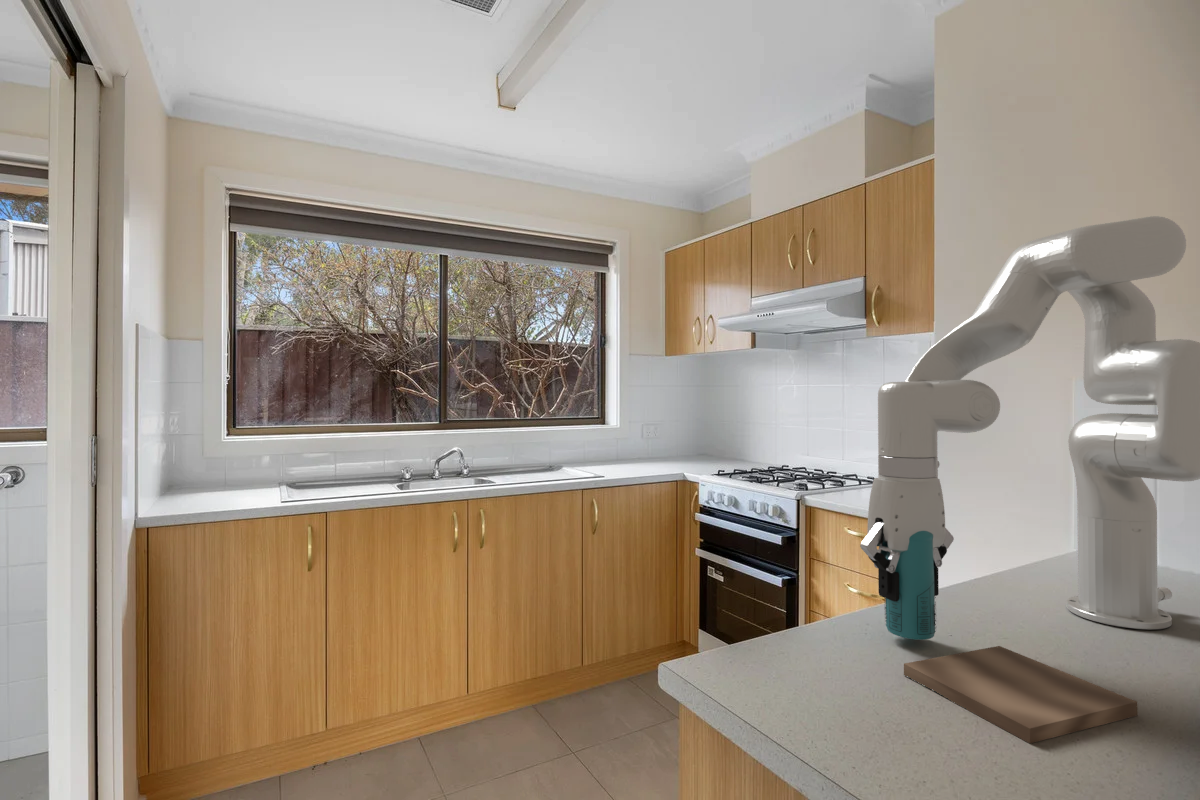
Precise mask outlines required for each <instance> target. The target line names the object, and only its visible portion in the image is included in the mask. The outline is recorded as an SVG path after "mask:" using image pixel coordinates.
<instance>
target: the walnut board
mask: <svg viewBox="0 0 1200 800" xmlns="http://www.w3.org/2000/svg"><path fill="white" fill-rule="evenodd" d="M904 675H905V676H904ZM903 676H904V677H906V676H908V677H910V678H911V679H913V680H915V681H917V682H919V683H921V684H923V685H925V686H926V687H928V688H930V689H933V690H934V691H936V692H937V693H939V694H941V695H943V696H944V697H943V696H942V697H943V698H945V697H946V698H948V699H949V700H948V699H947V700H948V701H950V700H951V702H952V701H953V702H952V703H954V702H955V703H954V704H956V703H957V704H956V705H957V706H959V705H960V707H961V706H962V707H961V708H963V707H964V709H965V708H966V709H965V710H967V711H969V712H971V713H972V712H973V714H974V715H976V716H978V717H980V718H982V719H984V720H986V721H987V722H989V723H991V724H993V725H994V726H996V727H998V728H999V729H1000V728H1001V729H1002V730H1004V731H1006V732H1008V733H1009V734H1011V735H1014V736H1015V737H1017V738H1018V739H1020V740H1022V741H1025V742H1026V743H1028V744H1033V743H1038V742H1041V741H1042V742H1043V741H1044V740H1049V739H1053V738H1056V737H1061V736H1064V735H1068V734H1072V733H1075V732H1079V731H1084V730H1087V729H1090V728H1096V727H1099V726H1102V725H1103V726H1104V725H1106V724H1110V723H1115V722H1119V721H1122V720H1126V719H1129V718H1133V717H1138V713H1139V712H1138V709H1139V708H1138V701H1136V700H1134V699H1132V698H1129V697H1128V696H1124V695H1122V694H1120V693H1117V692H1114V691H1112V690H1109V689H1107V688H1105V687H1101V686H1099V685H1098V684H1094V683H1093V682H1090V681H1087V680H1085V679H1082V678H1080V677H1077V676H1075V675H1072V674H1070V673H1067V672H1065V671H1063V670H1060V669H1058V668H1056V667H1052V666H1050V665H1047V664H1045V663H1044V662H1041V661H1037V660H1036V659H1033V658H1031V657H1028V656H1026V655H1023V654H1021V653H1018V652H1015V651H1013V650H1011V649H1008V648H1006V647H1003V646H1001V645H997V646H991V647H987V648H981V649H979V648H978V649H974V650H970V651H964V652H959V653H954V654H948V655H943V656H936V657H933V658H928V659H927V658H926V659H920V660H917V661H911V662H905V663H903ZM911 679H910V680H911ZM913 680H912V681H913ZM915 681H914V682H915ZM917 682H916V683H917ZM919 683H918V684H919ZM926 687H925V688H926ZM928 688H927V689H928ZM930 689H929V690H930ZM937 693H936V694H937ZM939 694H938V695H939ZM941 695H940V696H941ZM946 698H945V699H946Z"/></svg>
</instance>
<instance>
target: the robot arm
mask: <svg viewBox="0 0 1200 800" xmlns="http://www.w3.org/2000/svg"><path fill="white" fill-rule="evenodd" d="M1186 249H1187V239H1186V235H1185V233H1184V231H1183V229H1182V228H1181V226H1180V225H1178V223H1177V222H1175V221H1174V220H1173V219H1170V218H1167V217H1165V216H1159V215H1153V216H1152V215H1151V216H1146V217H1140V218H1134V219H1133V218H1132V219H1128V220H1127V219H1126V220H1120V221H1114V222H1107V223H1105V222H1104V223H1098V224H1092V225H1086V226H1081V227H1076V228H1074V229H1069V230H1065V231H1062V232H1059V233H1055V234H1051V235H1047V236H1043V237H1040V238H1036V239H1033V240H1030V241H1028V242H1025V243H1023V244H1021V245H1019V246H1018V247H1017V248H1016V249H1015V250H1013V251H1012V252H1011V254H1010V255H1009V256H1008V258H1007V259H1006V261H1005V262H1004V264H1003V265H1002V267H1001V269H1000V270H999V272H998V273H997V275H996V276H995V278H994V279H993V281H992V283H991V284H990V286H989V288H988V289H987V291H986V292H985V294H984V296H983V297H982V299H981V300H980V301H979V302H978V304H977V306H976V307H975V310H974V311H973V313H971V314H970V316H969V317H968V318H967V319H965V320H964V321H962V322H961V323H960V324H959V325H957V326H956V327H954V328H952V330H951V331H949V332H948V333H947V334H946V335H945V336H943V337H942V338H941V339H940V340H938V341H937V342H936V343H935V344H934V345H932V346H931V347H930V348H929V349H928V350H927V351H926V352H925V353H923V355H922V356H921V357H920V358H919V359H918V360H917V362H916V363H915V365H914V366H913V368H912V369H911V371H910V372H909V374H908V376H907V377H906V379H905V380H904V381H892V382H891V381H890V382H886V383H883V384H882V385H881V386H880V387H879V389H878V392H877V442H878V443H877V445H878V446H877V447H878V453H877V454H878V455H877V456H878V457H877V458H878V462H877V464H878V468H877V469H878V472H877V473H878V477H874V478H873V481H872V484H871V485H872V486H871V491H870V493H869V501H868V511H867V513H868V514H867V535H865V537H864V538H863V540H862V541H861V543H860V544H859V545H860V546H859V547H860V549H861V550H862V551H863V552H864V553H865V554H866V555H867V556H868V559H869V560H870V561H871V562H872V563H873V566H874V568H876V569H878V571H877V573H878V574H877V575H878V595H879V597H881V598H886V599H889V600H891V601H894V602H895V601H898V600H899V573H898V572H895V569H896V566H897V563H898V560H899V557H900V553H901V552H904V551H907V550H908V545H909V538H910V537H911V536H912V535H913V534H915V533H916V532H919V531H928V532H930V533H932V534H933V565H934V570H935V571H934V580H935V581H934V585H935V584H936V585H935V586H936V587H934V589H935V590H936V591H935V590H934V591H935V592H934V596H935V595H936V596H935V597H937V596H939V592H940V591H939V568H941V567H942V565H943V558H944V557H945V555H946V554H947V551H948V549H950V546H951V545H952V543H953V542H954V540H955V539H954V538H955V537H954V536H953V534H951V532H950V531H949V530H948V529H947V528H946V516H945V515H946V512H945V502H944V494H943V490H942V485H941V481H940V478H938V475H939V473H938V472H939V470H938V468H940V465H941V463H940V462H939V459H938V432H946V433H957V434H959V433H960V434H970V433H972V434H973V433H977V432H980V431H983V430H986V429H987V428H989V427H991V425H992V424H994V423H995V422H996V420H998V417H999V415H1000V412H1001V402H1000V401H1001V400H1000V398H999V396H998V395H997V393H996V391H995V390H994V389H993V388H992V387H990V386H989V385H987V384H986V383H985V382H981V381H978V380H973V379H963V378H964V377H966V376H967V375H969V374H970V373H972V372H973V371H975V370H977V369H978V368H980V367H982V366H984V365H987V364H989V363H991V362H993V361H996V360H998V359H1001V358H1003V357H1006V356H1007V355H1008V356H1009V355H1010V354H1012V353H1014V352H1016V351H1018V350H1020V349H1022V348H1023V347H1025V346H1026V345H1029V343H1030V342H1031V341H1032V340H1033V339H1034V336H1035V335H1036V334H1037V332H1038V330H1039V329H1040V327H1041V325H1042V323H1043V321H1044V320H1045V319H1046V317H1047V315H1048V313H1049V312H1050V310H1051V308H1053V305H1054V304H1055V302H1056V301H1057V300H1058V298H1059V296H1061V294H1063V293H1065V292H1067V293H1069V294H1070V296H1071V297H1072V298H1073V299H1074V301H1076V302H1077V304H1078V307H1080V310H1081V312H1082V314H1083V318H1084V319H1083V320H1084V348H1083V349H1084V351H1083V353H1084V354H1083V376H1082V377H1083V387H1084V391H1085V392H1086V395H1087V396H1088V397H1089V398H1090V399H1091V400H1093V401H1095V402H1097V403H1100V404H1106V405H1116V406H1117V405H1119V406H1120V405H1121V406H1122V405H1123V406H1129V405H1130V406H1141V405H1142V406H1157V414H1153V413H1152V414H1148V413H1147V414H1144V413H1117V412H1116V413H1115V412H1114V413H1113V412H1112V413H1108V412H1107V413H1097V414H1093V415H1092V414H1091V415H1089V416H1086V417H1084V418H1082V419H1080V420H1079V421H1077V422H1076V423H1075V424H1074V425H1073V426H1072V427H1071V430H1070V432H1069V435H1068V441H1067V442H1068V443H1067V444H1068V451H1069V455H1070V459H1071V464H1072V466H1073V471H1074V475H1075V476H1074V477H1075V482H1076V483H1075V484H1076V485H1075V486H1076V500H1077V501H1076V503H1077V505H1076V506H1077V512H1076V513H1077V517H1076V518H1077V519H1076V520H1077V583H1078V585H1077V587H1078V588H1077V589H1078V590H1077V593H1078V595H1074V596H1071V597H1069V598H1067V599H1066V601H1065V602H1066V604H1065V606H1066V609H1067V610H1068V611H1070V612H1071V613H1072V614H1074V615H1076V616H1078V617H1081V618H1082V619H1083V618H1084V619H1085V620H1086V619H1087V620H1090V621H1093V622H1097V623H1101V624H1105V625H1110V626H1115V627H1119V628H1127V629H1135V630H1149V631H1151V630H1164V629H1167V628H1169V627H1171V626H1172V625H1173V618H1172V616H1171V615H1170V613H1168V612H1166V611H1165V610H1163V609H1160V608H1159V603H1160V602H1161V601H1166V600H1170V599H1172V597H1173V592H1172V591H1171V590H1170V589H1169V588H1168V587H1166V586H1161V587H1158V524H1157V522H1158V521H1157V519H1158V510H1157V505H1156V500H1155V498H1154V496H1153V494H1152V492H1151V491H1150V488H1149V487H1148V485H1147V484H1146V483H1145V481H1144V480H1143V479H1152V480H1162V481H1172V482H1194V481H1199V480H1200V342H1198V341H1196V340H1192V339H1182V338H1180V339H1178V338H1177V339H1176V338H1175V339H1164V340H1157V331H1156V327H1157V326H1156V325H1157V323H1156V321H1157V320H1156V318H1157V317H1156V316H1157V315H1156V309H1155V307H1154V305H1153V302H1152V301H1151V300H1150V298H1149V297H1148V295H1146V293H1145V292H1143V291H1142V290H1141V289H1140V288H1139V287H1138V286H1137V285H1135V283H1133V282H1132V281H1137V280H1142V279H1150V278H1155V277H1161V276H1162V275H1165V274H1167V273H1169V272H1171V271H1172V270H1173V269H1175V268H1176V267H1177V266H1178V264H1180V263H1181V261H1182V259H1183V258H1184V255H1185V253H1186ZM887 543H888V547H887ZM877 547H878V548H877ZM887 553H890V556H889V559H888V560H887V559H886V556H887ZM935 582H936V583H935ZM935 593H936V594H935Z"/></svg>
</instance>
